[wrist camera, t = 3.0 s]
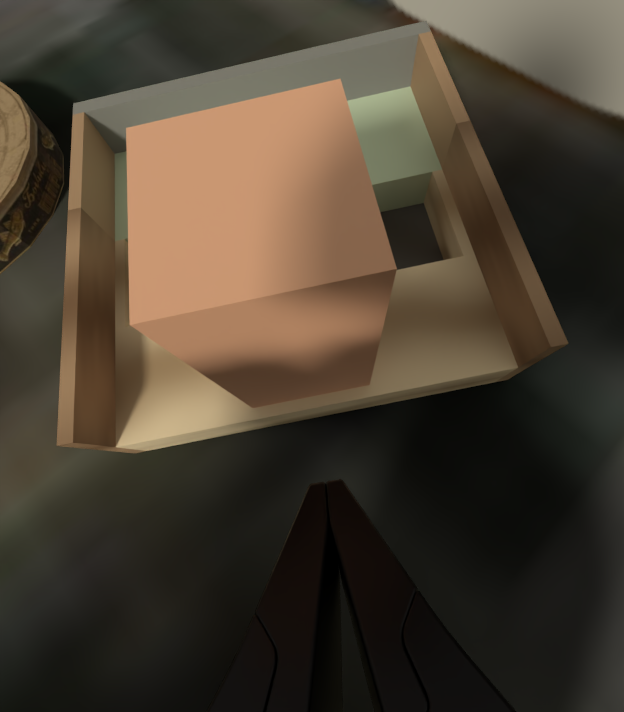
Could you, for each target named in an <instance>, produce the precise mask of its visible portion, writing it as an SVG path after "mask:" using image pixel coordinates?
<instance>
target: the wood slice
mask: <svg viewBox="0 0 624 712" xmlns="http://www.w3.org/2000/svg"><path fill="white" fill-rule="evenodd" d="M63 185H64V159H63V154H62V152H61V150H60V148H59V146H58V144H57V142H56V140H55V138H54V136H53V134H52V132H51V131H50V130H49V129H48V128H47V127H46V126H45V124H44V123H43V122H42V121H41V120H40V119H39V117H38V116H37V115H36V114H35V113H34V112H33V111H32V109H31V108H30V107H29V106H28V105H27V104H26V103H25V101H24V100H23V99H22V98H21V97H20V96H19V95H18V94H17V93H15V92H14V91H13V90H11V89H10V88H9V87H7V86H6V85H4V84H3V83H2V82H0V274H1V273H2V272H3V271H4V270H5V269H7V268H8V267H9V266H10V265H11V264H12V263H13V262H14V261H16V260H17V259H18V258H19V257H20V256H21V255H22V254H23V253H24V252H26V251H27V250H28V249H29V248H30V247H31V246H32V244H33V243H34V242H35V240H36V239H37V237H38V236H39V234H40V233H41V232H42V230H43V229H44V227H45V226H46V224H47V223H48V222H49V220H50V219H51V217H52V216H53V214H54V211H55V208H56V205H57V202H58V199H59V197H60V194H61V191H62V188H63Z"/></svg>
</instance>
